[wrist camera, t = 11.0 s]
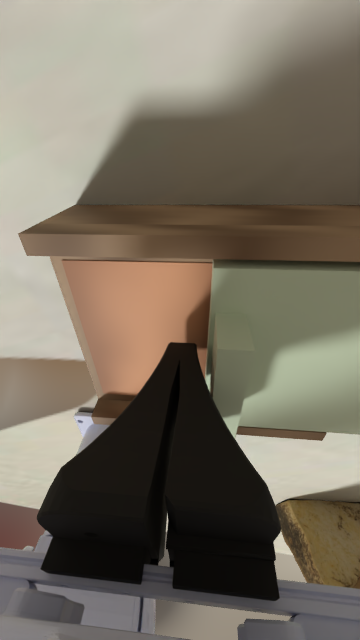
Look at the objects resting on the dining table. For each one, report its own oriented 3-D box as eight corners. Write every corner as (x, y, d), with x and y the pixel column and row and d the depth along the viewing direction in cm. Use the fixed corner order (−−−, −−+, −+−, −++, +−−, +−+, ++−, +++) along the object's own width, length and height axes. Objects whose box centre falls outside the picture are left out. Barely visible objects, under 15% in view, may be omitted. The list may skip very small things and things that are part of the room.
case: (115, 368, 20) (93, 423, 16) (75, 204, 12) (18, 233, 9) (354, 381, 18) (393, 445, 14) (462, 205, 11) (596, 240, 7)
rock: (409, 521, 27) (333, 519, 25) (418, 622, 24) (336, 629, 22) (327, 482, 37) (268, 478, 35) (328, 551, 35) (266, 551, 33)
